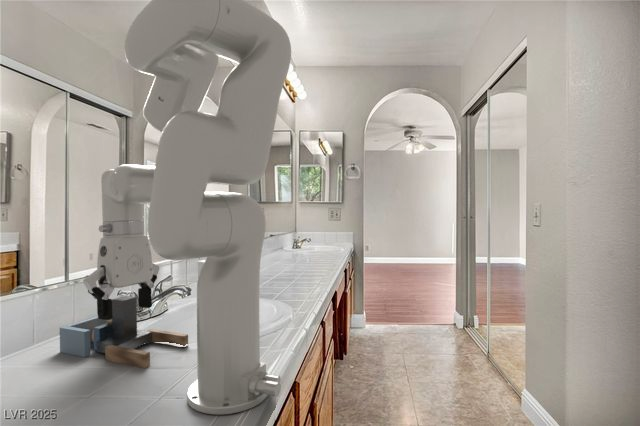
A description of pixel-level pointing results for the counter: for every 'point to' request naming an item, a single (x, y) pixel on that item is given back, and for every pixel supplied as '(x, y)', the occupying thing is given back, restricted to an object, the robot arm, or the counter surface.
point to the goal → (78, 336)
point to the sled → (121, 327)
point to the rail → (139, 356)
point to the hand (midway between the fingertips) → (126, 312)
